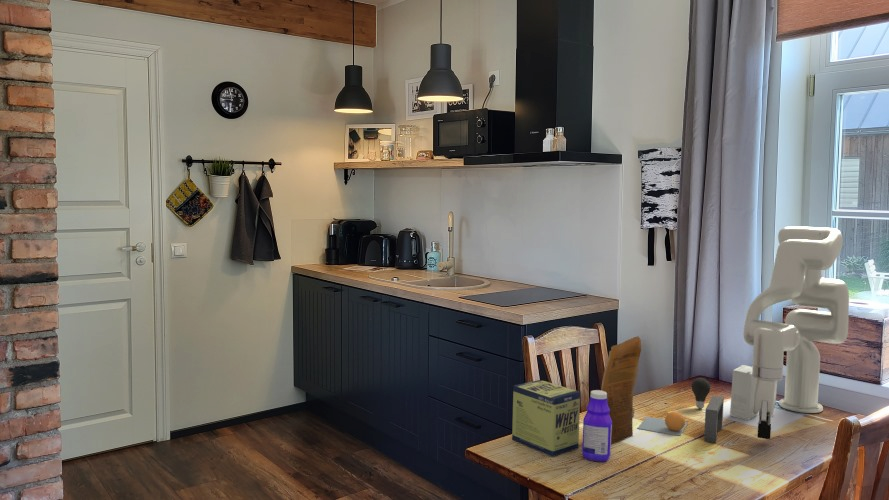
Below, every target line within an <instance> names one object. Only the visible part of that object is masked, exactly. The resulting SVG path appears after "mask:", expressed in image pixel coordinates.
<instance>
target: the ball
mask: <svg viewBox="0 0 889 500" xmlns="http://www.w3.org/2000/svg"><path fill="white" fill-rule="evenodd" d="M664 419H665V424H666V426H667V427H668V428H669V429H670V430H673V431H679V430H681V429H682V428H683V427H684V425H685V423H686V420H685V417H684V415H683V414H682V413H680V412H679V411H674V410H673V411H669V412H668V413H667V414H666V416H665V417H664Z"/></svg>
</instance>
